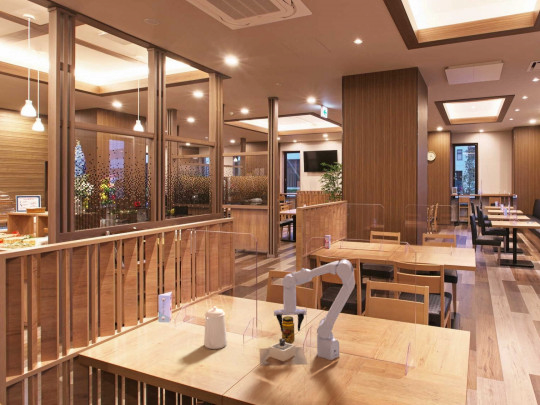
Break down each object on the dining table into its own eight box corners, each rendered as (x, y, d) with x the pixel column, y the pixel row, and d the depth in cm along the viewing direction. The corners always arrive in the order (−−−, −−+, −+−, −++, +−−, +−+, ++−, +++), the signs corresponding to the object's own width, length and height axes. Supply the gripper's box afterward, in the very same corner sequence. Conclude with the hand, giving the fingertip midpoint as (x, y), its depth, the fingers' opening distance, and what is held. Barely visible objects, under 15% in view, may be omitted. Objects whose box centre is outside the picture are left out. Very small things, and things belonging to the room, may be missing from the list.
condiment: (283, 345, 196) (283, 320, 196) (278, 339, 204) (277, 315, 204) (298, 343, 198) (297, 319, 198) (292, 337, 207) (291, 313, 206)
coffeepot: (194, 355, 186) (193, 314, 185) (213, 335, 211) (212, 299, 210) (217, 357, 184) (216, 315, 183) (233, 336, 208) (232, 300, 208)
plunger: (281, 350, 187) (281, 336, 186) (291, 354, 183) (291, 339, 182) (273, 354, 182) (272, 339, 182) (283, 358, 178) (282, 343, 178)
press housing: (281, 350, 188) (281, 341, 188) (295, 355, 183) (295, 345, 183) (269, 356, 182) (269, 346, 182) (283, 361, 177) (283, 351, 177)
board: (302, 348, 192) (302, 347, 192) (307, 365, 174) (307, 364, 174) (259, 350, 191) (259, 348, 191) (260, 367, 173) (260, 365, 173)
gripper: (274, 304, 182) (274, 334, 182) (306, 303, 182) (307, 333, 183) (273, 299, 189) (273, 328, 190) (304, 298, 189) (305, 327, 190)
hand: (290, 330), depth 187 cm, fingers open, 7 cm apart
